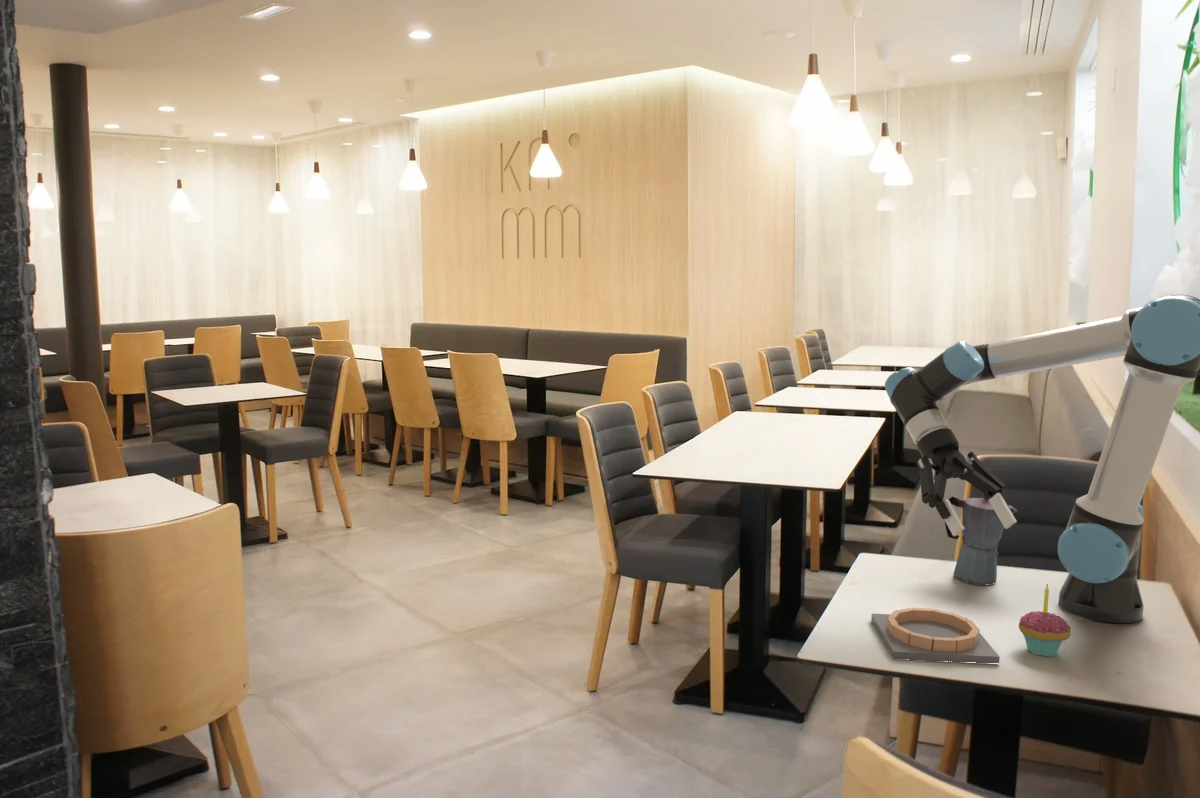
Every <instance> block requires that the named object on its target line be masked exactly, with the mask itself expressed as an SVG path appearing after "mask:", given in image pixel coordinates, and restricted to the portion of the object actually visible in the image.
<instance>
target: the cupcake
mask: <svg viewBox="0 0 1200 798" xmlns="http://www.w3.org/2000/svg"><path fill="white" fill-rule="evenodd" d="M1048 587H1049V584H1048V583H1046V587H1045V588H1044V595H1043V596H1044V598H1043V611H1041V610H1038V611H1031V612H1028V613H1026V614H1024V615H1022V616H1021V617H1020V619H1019V622H1018V629H1019V631H1020V632H1021V633H1022V635H1023V638H1024V640H1025V644H1026V648H1027V650H1028V651H1029V652H1030V651H1031V652H1033V653H1032V654H1034V653H1035V654H1034V655H1036V654H1039V655H1038V656H1040V655H1043V656H1042V657H1053V656H1056V655H1057V653H1058V651H1059V648H1060V647H1061V645H1062V643H1063V642H1064V641H1066V640H1068V639H1069V638H1070V637H1071V632H1072V631H1071V630H1072V627H1071V626H1070V624H1068V622H1067V620H1065V619H1064V618H1063V617H1061V616H1060V615H1057V614H1055V613H1053V612H1052V613H1050V612H1048V608H1049V595H1050V588H1048ZM1031 652H1030V653H1031Z"/></svg>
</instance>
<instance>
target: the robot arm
mask: <svg viewBox="0 0 1200 798" xmlns="http://www.w3.org/2000/svg"><path fill="white" fill-rule="evenodd" d="M1118 357H1119V358H1120V357H1124V358H1123V360H1122V362H1123V364H1124V366H1125V367H1126V369H1127V371H1128V375H1127V378H1126V382H1125V384H1124V387H1123V389H1122V393H1121V396H1120V399H1119V402H1118V404H1117V407H1116V410H1115V414H1114V416H1113V419H1112V423H1111V425H1110V427H1109V430H1108V434H1107V436H1106V439H1105V443H1104V445H1103V449H1102V451H1101V455H1100V457H1099V459H1098V463H1097V466H1096V468H1095V471H1094V473H1093V478H1092V480H1091V483H1090V486H1089V489H1088V493H1087V494H1084V495H1082V496H1080V497H1078V498H1076V500H1075V502H1074V504H1073V508H1072V510H1071V513H1070V517H1069V520H1068V522H1067V525H1066V527H1065V529H1064V531H1063V532H1062V533H1061V534H1060V535H1059V538H1058V540H1057V541H1058V542H1057V555H1058V558H1059V560H1060V562H1061V564H1062V566H1063V567H1064V569H1065V570H1066V571H1067V572H1068V575H1067V576H1066V578H1065V580H1064V582H1063V585H1062V586H1061V589H1060V591H1059V595H1058V606H1060V607H1061V609H1063V610H1064V611H1066V612H1068V613H1070V614H1073V615H1075V616H1078V617H1080V618H1081V617H1082V618H1084V619H1087V620H1092V621H1097V622H1101V623H1110V624H1111V623H1112V624H1133V623H1137V622H1140V621H1141V620H1142V619H1143V617H1144V602H1143V599H1142V595H1141V590H1140V586H1139V583H1138V578H1137V577H1138V569H1139V558H1140V551H1141V550H1140V549H1141V541H1142V540H1141V539H1142V531H1143V524H1144V522H1145V517H1144V511H1145V510H1144V506H1143V505H1141V501H1142V499H1143V496H1144V493H1145V490H1146V488H1147V485H1148V482H1149V479H1150V476H1151V474H1152V471H1153V468H1154V465H1155V462H1156V460H1157V457H1158V455H1159V452H1160V448H1161V447H1162V444H1163V442H1164V441H1163V440H1164V438H1165V435H1166V432H1167V430H1168V428H1169V424H1170V421H1171V419H1172V415H1173V412H1174V411H1175V407H1176V405H1177V401H1178V399H1179V396H1180V393H1181V390H1182V388H1183V386H1185V385H1187V384H1188V383H1190V382H1193V381H1195V380H1196V379H1197V375H1198V373H1199V371H1200V298H1197V297H1195V296H1191V295H1188V294H1187V295H1186V294H1167V295H1163V296H1159V297H1156V298H1154V299H1152V300H1151V301H1149V302H1148V303H1145V305H1143V306H1140V307H1135V308H1131V309H1127V310H1126V311H1125V313H1124V314H1123V315H1122V316H1118V317H1113V318H1107V319H1103V320H1099V321H1093V322H1087V323H1084V324H1079V325H1073V326H1068V327H1064V328H1058V329H1053V330H1048V331H1043V332H1039V333H1033V334H1028V335H1023V336H1018V337H1013V338H1008V339H1004V340H1003V339H1002V340H999V341H994V342H990V343H985V344H979V345H971V344H970V343H968V342H966V341H965V340H960V341H957V342H956V343H954V344H953V345H951V346H949V347H947V348H946V349H945V350H944V351H943V352H941V353H940V354H939V355H938V356H936V357H935V358H934V359H932V360H931V361H930V362H929V363H927V364H925V365H924V366H923V367H922V368H920V369H919V370H916V369H915V368H914V367H903V368H901V369H900V370H897V371H894V372H893V373H892V374H890V375H889V376H888V377H887V378H886V379H885V383H884V390H885V391H886V394H887V396H888V398H889V400H890V403H891V406H893V407H894V409H895V411H896V412H897V414H898V416H899V417H900V420H901V421H902V423H903V424H904V427H905V428H906V431H907V432H908V433H909V435H910V437H911V439H912V440H913V443H914V444H915V445H916V449H917V450H918V452H919V453H920V457H921V458H919V460H918V461H917V462H915V464H916V467H917V470H918V473H919V480H920V481H919V482H920V492H921V500H922V503H924V504H925V505H927V504H928V506H929V508H931V509H933V508H935V509H936V510H937V512H938V514H939V516H940V518H941V519H942V520H945V521H944V523H945V522H946V524H947V526H948V528H949V529H950V531H951V533H952V535H953V536H957V535H959V534H960V533H962V531H963V530H964V529H965V528H964V526H963V524H962V521H961V519H960V517H959V516H958V514H957V511H956V510H955V509H954V507H953V505H951V503H950V501H949V498H944V497H945V493H946V486H947V481H948V480H950V479H958V478H959V480H962V481H966V482H967V483H969V484H971V486H973V487H975V488H976V489H978V491H980V492H982V493H983V494H984V493H985V494H986V495H987V496H989V497H990V499H989V502H990V504H991V505H992V507H993V509H994V511H995V512H996V514H997V516H998V517H999V519H1000V521H1001V522H1002V524H1003V526H1004V529H1005V530H1007V529H1010V528H1011V527H1012V526H1014V525H1015V524H1016V523H1017V522H1018V521H1017V519H1016V518H1015V516H1014V514H1012V512H1011V511H1010V509H1009V504H1008V502H1007V500H1006V499H1005V496H1004V494H1003V493H1004V492H1005V491H1006V490H1007V489H1008V486H1007V485H1006V484H1005V483H1004V482H1003V481H1002V480H1001V479H1000V478H999V477H998V476H997V475H996V474H994V473H993V472H992V471H991V469H989V468H988V467H987V466H986V465H985V464H984V463H983V462H981V461H980V460H979V458H978V457H977V455H976V454H975V452H973V451H969V452H968V453H966V454H963V453H962V452H960V450H959V449H960V448H959V447H960V443H959V440H958V439H957V437H956V436H955V434H954V432H953V430H952V429H951V428H950V425H949V423H948V422H947V419H946V418H945V416H944V414H943V413H942V412H941V410H940V408H939V406H938V404H937V403H938V402H940V401H942V400H943V399H944V398H945V397H947V396H948V395H950V394H951V393H953V392H955V391H957V389H960V388H961V387H964V386H966V385H969V384H972V383H978V382H983V381H989V380H994V379H1000V378H1005V377H1006V378H1007V377H1010V376H1016V375H1022V374H1027V373H1034V372H1038V371H1039V372H1040V371H1044V370H1045V371H1046V370H1050V369H1056V368H1062V367H1069V366H1073V365H1079V364H1080V365H1081V364H1084V363H1085V364H1086V363H1091V362H1096V361H1102V360H1109V359H1114V358H1118ZM933 470H934V474H933Z"/></svg>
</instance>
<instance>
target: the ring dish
mask: <svg viewBox="0 0 1200 798" xmlns="http://www.w3.org/2000/svg"><path fill="white" fill-rule="evenodd" d="M870 620H871V623H872V624H873V627H874V628H875V630H876V632H877V634H878V636H879V637H880V639H881V641H882V642H883V644H884V646H885V648H886V650H887V649H888V650H887V652H888V651H889V652H888V653H889V655H890V654H891V655H890V657H891V656H892V657H891V659H892V658H893V659H909V660H925V661H924V662H929V661H948V662H947V663H949V661H950V662H951V661H952V662H976V663H999V664H1000V658H1001V657H1000V655H999V654H998V653H997V651H996V650H995V649H994V648H993V647H992V646H991V644H990V643H989V642H988V640H986V639H985V638H984V636H983V635H982V634H981V632H980V628H979V627H978V626H977V625H976V624H975V622H974V621H972V620H971V619H969V618H968V617H964V616H962V615H960V614H958V613H957V614H956V613H954V612H949V611H946V610H945V611H944V610H941V609H936V608H925V607H908V608H903V609H896V610H894V611H892V613H891V612H890V614H889V613H887V614H886V613H871V618H870ZM893 659H892V660H893ZM909 660H908V661H909Z"/></svg>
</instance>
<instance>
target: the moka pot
mask: <svg viewBox="0 0 1200 798" xmlns="http://www.w3.org/2000/svg"><path fill="white" fill-rule="evenodd" d="M948 499H949V501H950V503H951V505H952V506H955V507H957V508H961V509H962V515H961V516H962V517H961V518H962V519H961V520H962V521H961V523H962V524H963V526H964V528H965V529H964V530H963V531H961V533H962V534H963V535H962V537H961V539H962V544H961V546H960V547H961V548H960V550H959V554H958V557H957V561H956V564H955V568H954V571H953V577H955V578H956V579H958V580H960V581H963V582H965V583H968V584H972V583H973V584H972V585H979V584H981V586H987V585H986V584H993V583H995V582H996V583H997V579H998V578H997V577H998V574H997V572H998V571H997V570H998V556H999V552H998V549H997V548H998V546H999V542H1000V541H1001V538H1002V535H1003V532H1004V529H1005V528H1004V526H1003V524H1002V522H1001V521H1000V519H999V517H998V516H997V514H996V512H995V511H994V509H993V507H992V505H991V504H990V502H989V499H991V498H990V497H989V496H987V495H986V494H985V493H983V497H968V498H961V497H959V498H958V497H955V496H951V497H950V498H949V497H948ZM1008 505H1009V504H1008ZM1009 509H1010V511H1011V512H1012V514H1013V515H1014V514H1015V513H1017V512H1018V509H1016V508H1015V507H1014V506H1012V505H1009ZM943 520H944V519H943ZM944 525H945V530H946V534H947V538H950V539H953V540H958V539H959V538H960V535H959V534H958V535H957V536H953V535H952V533H951V531H950V529H949V528H948V526H947V524H946V522H945V520H944ZM996 583H995V584H996ZM993 585H994V584H993Z"/></svg>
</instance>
